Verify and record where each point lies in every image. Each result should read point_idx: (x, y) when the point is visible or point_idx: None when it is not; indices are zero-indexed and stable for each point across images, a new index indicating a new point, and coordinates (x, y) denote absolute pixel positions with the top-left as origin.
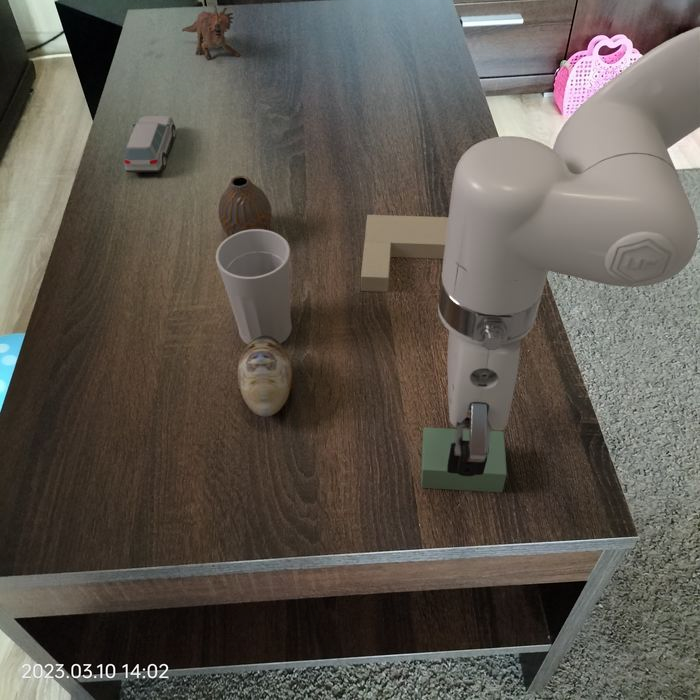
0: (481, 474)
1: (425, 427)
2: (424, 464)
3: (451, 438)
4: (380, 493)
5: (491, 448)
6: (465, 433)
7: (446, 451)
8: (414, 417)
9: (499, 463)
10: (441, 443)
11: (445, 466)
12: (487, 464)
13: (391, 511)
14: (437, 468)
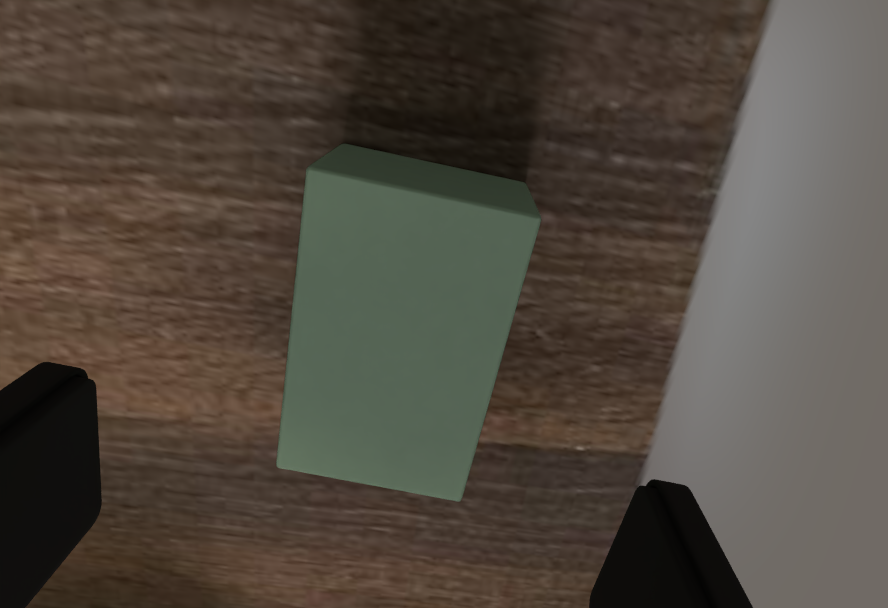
0: (679, 484)
1: (277, 461)
2: (441, 495)
3: (333, 389)
4: (461, 518)
5: (398, 249)
6: (312, 335)
7: (393, 419)
8: (196, 394)
9: (480, 234)
10: (355, 428)
11: (460, 435)
12: (478, 286)
13: (522, 503)
14: (464, 460)
